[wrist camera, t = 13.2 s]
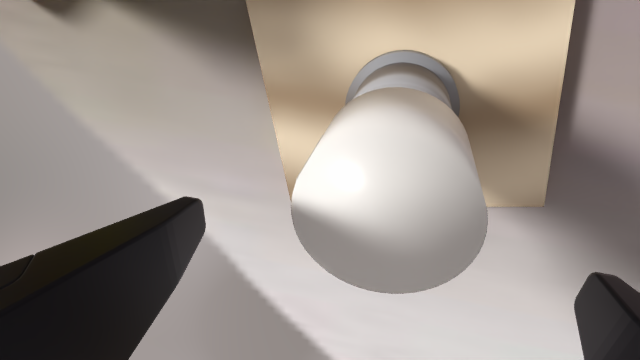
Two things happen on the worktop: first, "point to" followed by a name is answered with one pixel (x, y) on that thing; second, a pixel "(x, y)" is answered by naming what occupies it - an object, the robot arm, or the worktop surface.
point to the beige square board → (423, 75)
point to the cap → (391, 194)
